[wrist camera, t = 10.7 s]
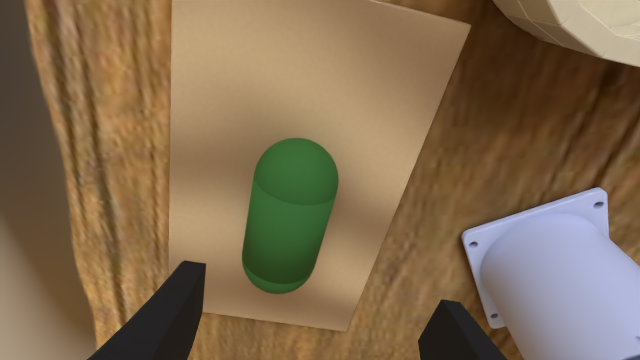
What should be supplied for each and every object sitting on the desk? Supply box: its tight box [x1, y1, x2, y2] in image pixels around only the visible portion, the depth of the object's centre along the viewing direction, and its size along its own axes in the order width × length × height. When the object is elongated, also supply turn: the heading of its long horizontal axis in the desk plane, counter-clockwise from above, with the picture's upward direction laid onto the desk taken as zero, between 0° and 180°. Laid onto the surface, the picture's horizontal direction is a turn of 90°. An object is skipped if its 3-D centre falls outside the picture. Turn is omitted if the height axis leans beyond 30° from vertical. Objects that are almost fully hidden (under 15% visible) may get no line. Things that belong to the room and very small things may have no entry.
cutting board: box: [168, 0, 471, 332], centre depth 19 cm, size 20×12×1 cm, turn 167°
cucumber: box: [242, 138, 339, 294], centre depth 17 cm, size 8×4×4 cm, turn 167°
